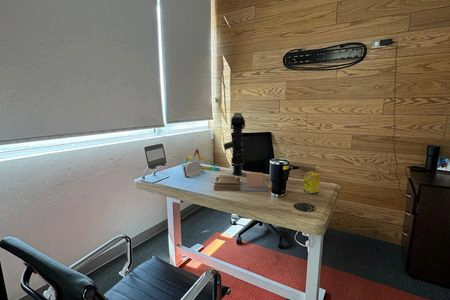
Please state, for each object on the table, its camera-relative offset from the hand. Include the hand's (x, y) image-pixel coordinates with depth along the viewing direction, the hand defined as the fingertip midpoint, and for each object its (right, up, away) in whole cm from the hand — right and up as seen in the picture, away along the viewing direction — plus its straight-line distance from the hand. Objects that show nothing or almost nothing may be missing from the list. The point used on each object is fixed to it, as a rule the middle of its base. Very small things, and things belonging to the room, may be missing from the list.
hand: (237, 162), depth 151 cm
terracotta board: (+10, -14, -7) cm, 18 cm away
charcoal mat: (+10, -14, -7) cm, 18 cm away
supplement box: (+40, -16, -15) cm, 46 cm away
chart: (-26, -7, +34) cm, 44 cm away
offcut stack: (-6, -13, +1) cm, 14 cm away
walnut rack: (-6, -14, -4) cm, 16 cm away
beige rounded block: (-30, -10, +20) cm, 37 cm away
